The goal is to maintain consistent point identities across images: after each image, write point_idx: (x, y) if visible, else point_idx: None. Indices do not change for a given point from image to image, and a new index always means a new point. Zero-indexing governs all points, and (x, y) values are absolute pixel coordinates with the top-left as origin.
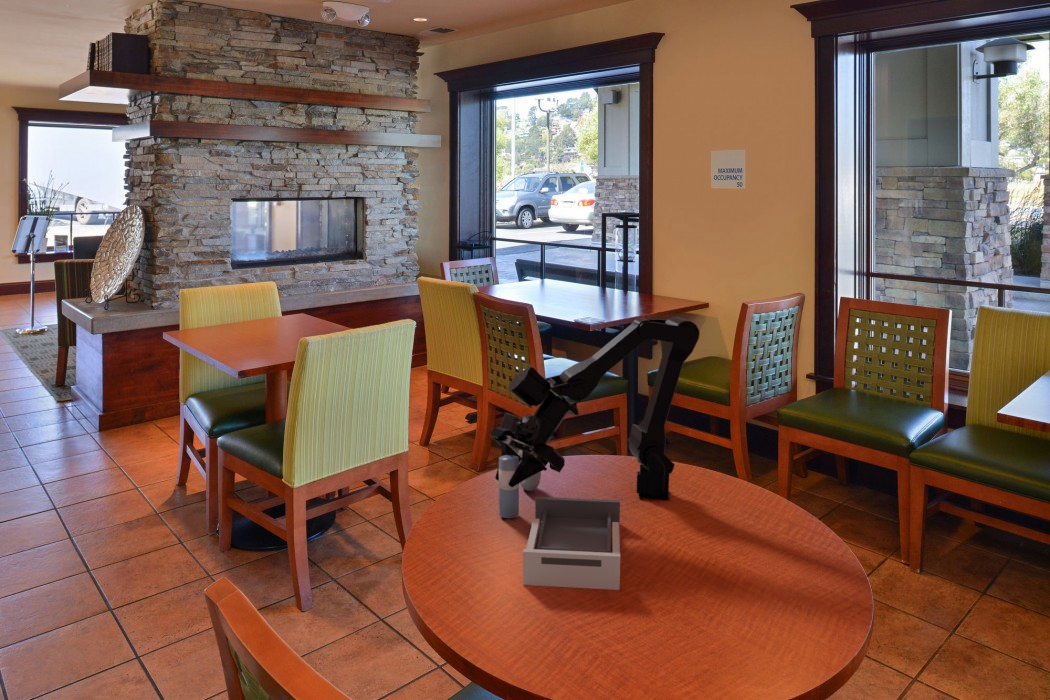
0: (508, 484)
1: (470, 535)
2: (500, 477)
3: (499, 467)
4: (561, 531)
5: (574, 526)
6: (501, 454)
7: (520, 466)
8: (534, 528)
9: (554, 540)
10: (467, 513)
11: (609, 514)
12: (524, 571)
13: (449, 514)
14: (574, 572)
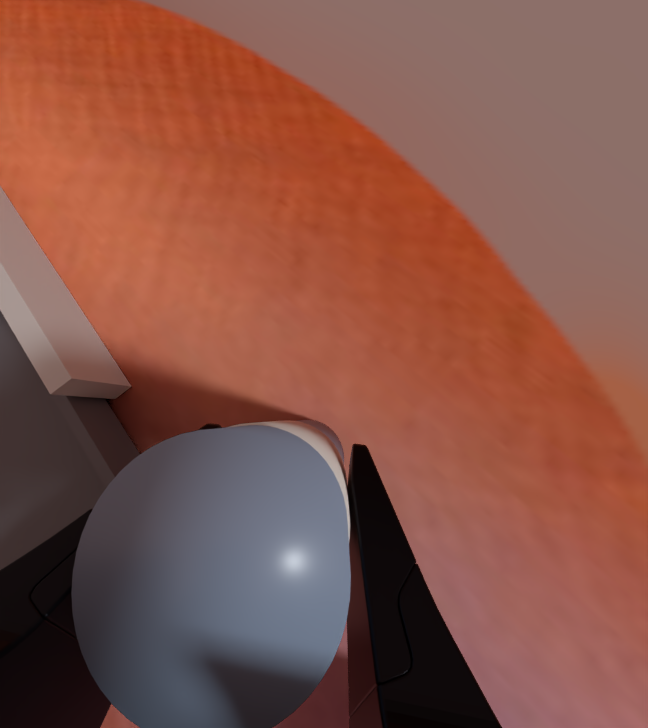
0: (219, 425)
1: (292, 264)
2: (286, 423)
3: (288, 433)
4: (40, 456)
5: (23, 524)
6: (474, 684)
7: (67, 555)
8: (17, 315)
9: (22, 384)
10: (435, 367)
11: None
12: None
13: (471, 317)
14: None
